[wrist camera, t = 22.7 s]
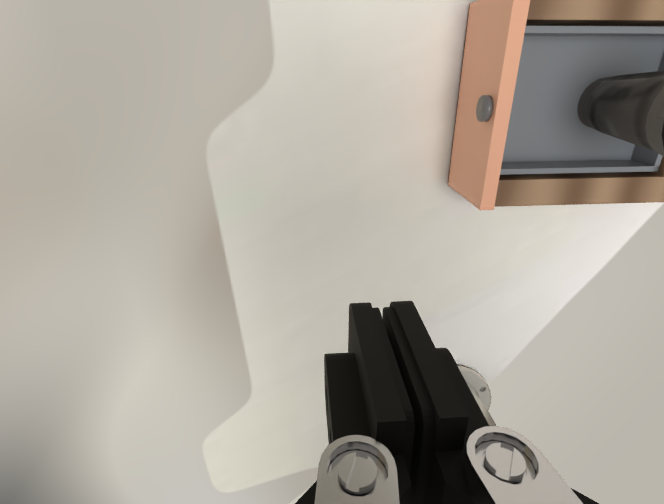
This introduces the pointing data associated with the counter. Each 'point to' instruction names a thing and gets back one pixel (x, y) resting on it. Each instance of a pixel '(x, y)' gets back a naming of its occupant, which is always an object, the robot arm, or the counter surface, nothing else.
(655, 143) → the beverage cup
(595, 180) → the housing
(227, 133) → the counter surface
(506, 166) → the tray
